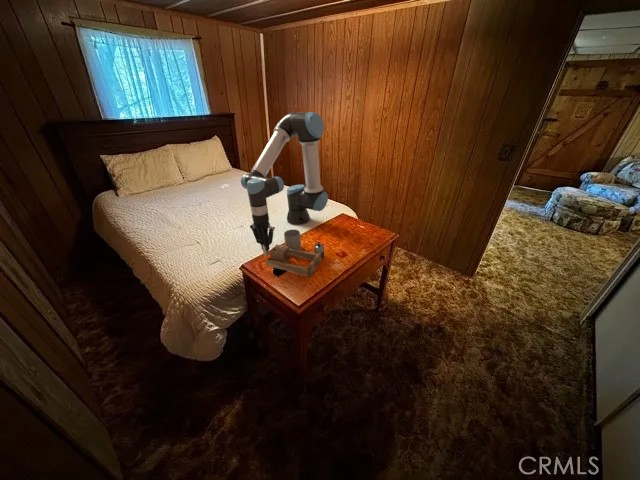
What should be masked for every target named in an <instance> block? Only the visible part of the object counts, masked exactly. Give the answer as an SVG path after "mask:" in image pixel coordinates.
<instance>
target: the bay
mask: <svg viewBox="0 0 640 480" xmlns="http://www.w3.org/2000/svg"><path fill="white" fill-rule="evenodd" d="M289 252H290V257H294V258H299V259H303V260H304V259H305V260H310V261H311V262H310V263H309V264H308V266H307V267H306V266H305V267H304V266H302V265H301V266H300V265H295V264H291V263H282V262H278V261H273V260H268V258H267V259H266V260H265V261H266V265H267V266H270V267H273V268H277V269H282V270H286V271H287V272H286V273H292V274H297V275H300V276H301V275H302V276H306V277H310V278H311V277H312V276H313V274H314V273H315V271H316V270H317V268H318V267H319V265H320V263H321V262H322V261H323V258H322V252H318V253H317V254H316V253H314V252H311V251H305V250H302V249H301V250H295V249H290V248H289Z"/></svg>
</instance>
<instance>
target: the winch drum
mask: <svg viewBox="0 0 640 480" xmlns="http://www.w3.org/2000/svg"><path fill="white" fill-rule="evenodd" d="M313 251H314V252H313V253H316V254H317V253H318V252H322V259H324V257H325V246H324V244H322V243H321V241H317V243H316V244H314V245H313Z"/></svg>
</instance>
